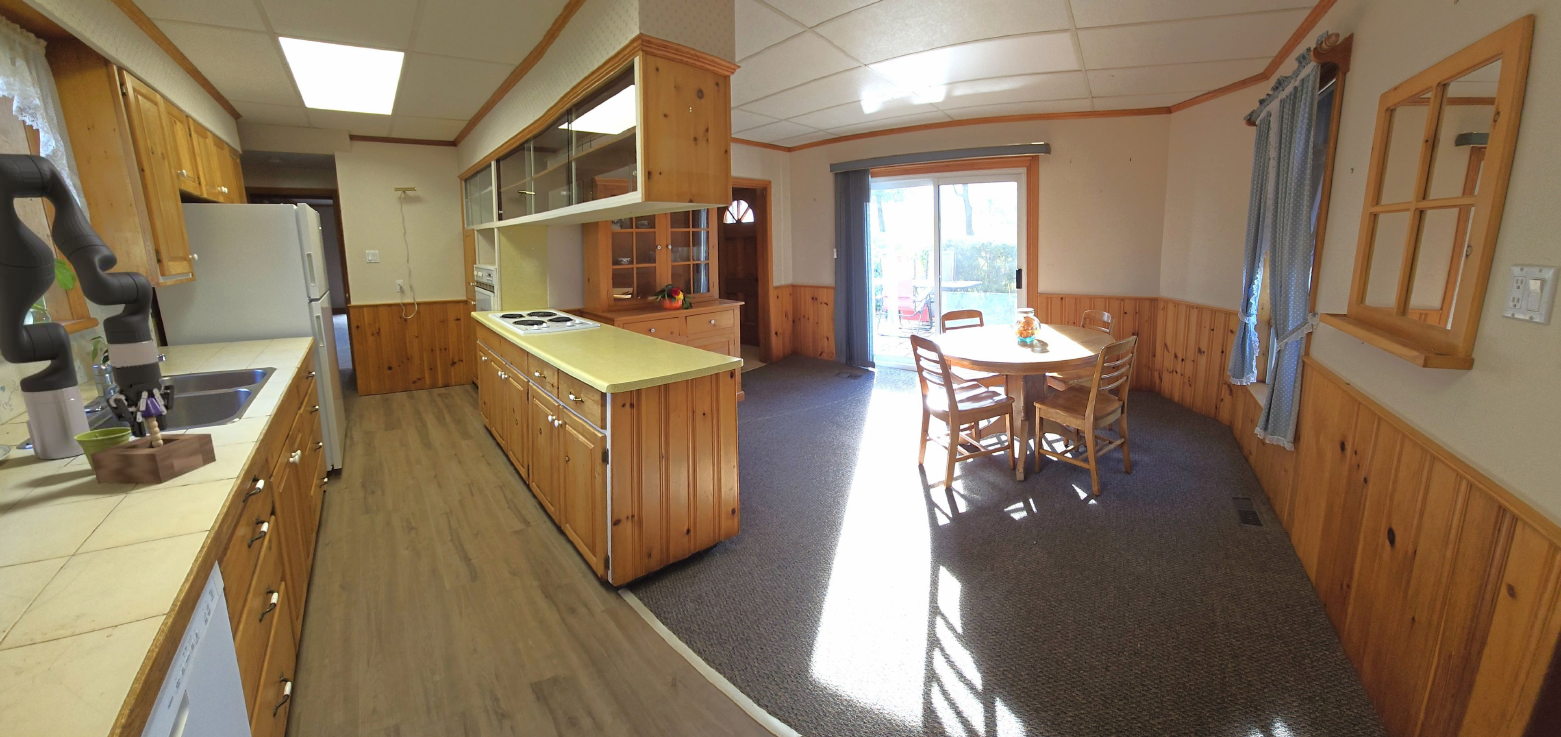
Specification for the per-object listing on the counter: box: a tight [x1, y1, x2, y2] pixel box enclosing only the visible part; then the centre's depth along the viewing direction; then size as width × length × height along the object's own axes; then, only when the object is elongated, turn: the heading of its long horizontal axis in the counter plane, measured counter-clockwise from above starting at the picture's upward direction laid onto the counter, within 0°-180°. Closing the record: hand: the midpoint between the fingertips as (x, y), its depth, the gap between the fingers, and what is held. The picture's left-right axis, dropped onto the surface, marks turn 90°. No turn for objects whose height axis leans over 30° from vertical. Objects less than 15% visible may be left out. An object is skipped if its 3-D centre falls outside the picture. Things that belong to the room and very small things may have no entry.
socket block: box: [91, 433, 217, 484], centre depth 144 cm, size 14×14×7 cm
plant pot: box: [74, 427, 132, 472], centre depth 146 cm, size 9×9×9 cm
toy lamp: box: [134, 397, 163, 448], centre depth 143 cm, size 5×5×17 cm
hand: (150, 433), depth 143 cm, fingers closed on toy lamp, 4 cm apart
